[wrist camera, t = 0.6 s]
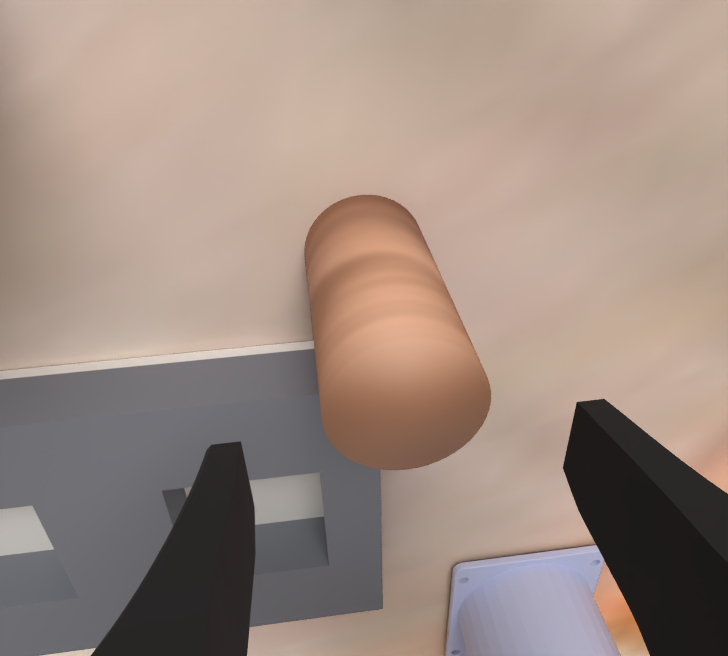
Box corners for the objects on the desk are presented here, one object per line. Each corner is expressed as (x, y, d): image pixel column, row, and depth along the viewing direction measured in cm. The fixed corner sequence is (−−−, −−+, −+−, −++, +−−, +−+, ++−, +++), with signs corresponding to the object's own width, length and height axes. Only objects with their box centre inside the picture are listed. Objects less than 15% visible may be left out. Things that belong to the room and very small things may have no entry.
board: (373, 551, 31) (382, 608, 28) (-57, 606, 29) (-87, 672, 26) (366, 335, 23) (378, 387, 21) (-215, 391, 21) (-277, 456, 19)
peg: (420, 295, 22) (483, 460, 16) (309, 305, 22) (327, 478, 16) (423, 190, 20) (498, 332, 14) (299, 200, 20) (315, 350, 13)
